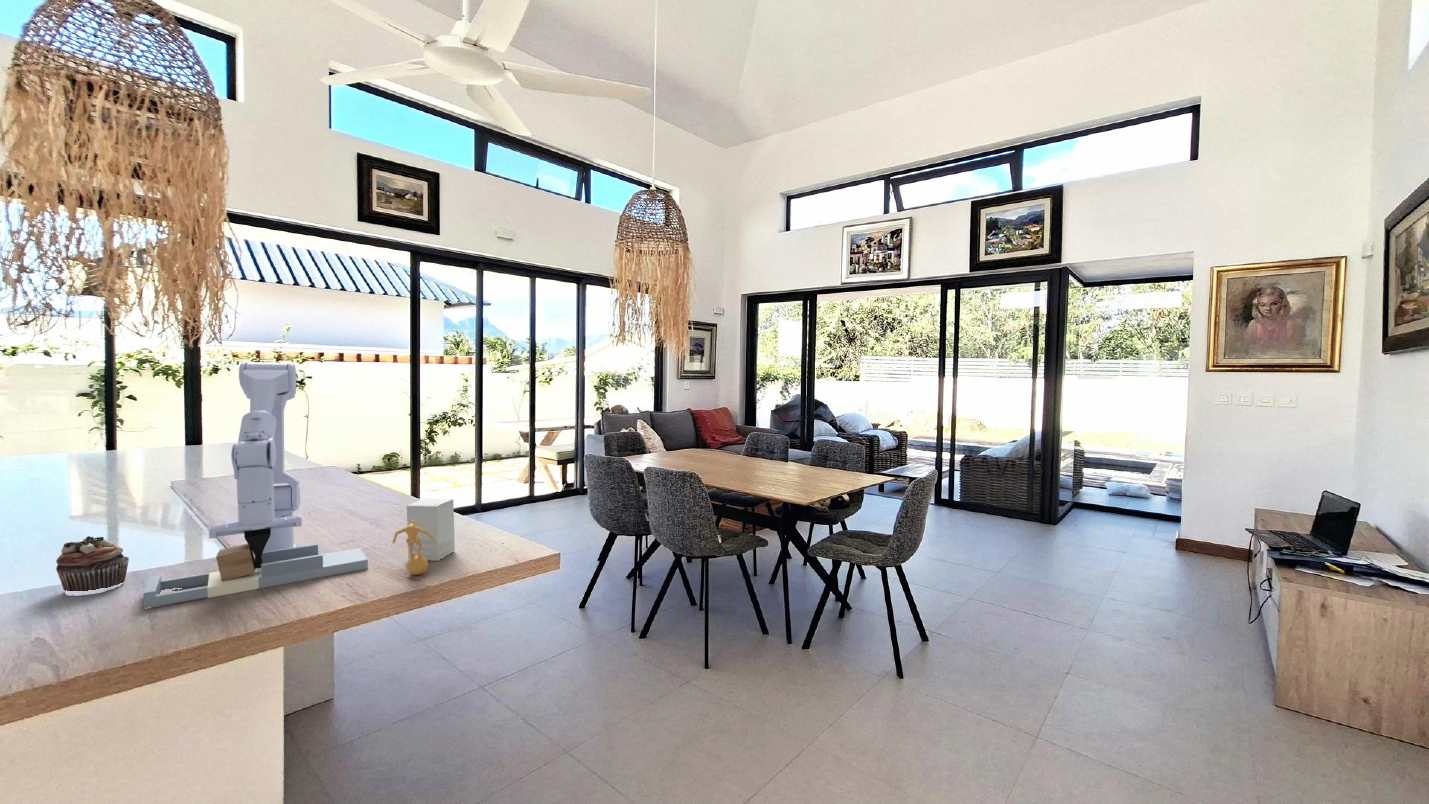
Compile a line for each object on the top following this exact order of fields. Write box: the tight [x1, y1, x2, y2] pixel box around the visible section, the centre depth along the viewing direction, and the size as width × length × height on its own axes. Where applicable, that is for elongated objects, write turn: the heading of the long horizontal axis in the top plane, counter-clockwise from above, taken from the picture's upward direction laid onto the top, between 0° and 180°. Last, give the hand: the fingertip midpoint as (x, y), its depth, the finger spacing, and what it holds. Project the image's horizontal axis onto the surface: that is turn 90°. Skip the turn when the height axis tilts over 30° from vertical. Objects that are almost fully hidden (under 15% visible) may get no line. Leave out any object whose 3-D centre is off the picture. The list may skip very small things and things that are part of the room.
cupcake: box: [55, 535, 130, 591], centre depth 112 cm, size 10×10×10 cm
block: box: [216, 542, 255, 581], centre depth 115 cm, size 5×5×5 cm
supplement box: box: [406, 497, 456, 562], centre depth 134 cm, size 7×7×13 cm
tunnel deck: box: [143, 543, 369, 608], centre depth 118 cm, size 10×34×4 cm, turn 129°
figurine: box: [392, 520, 436, 576], centre depth 121 cm, size 8×6×12 cm
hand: (258, 567), depth 117 cm, fingers closed, pressing on block
